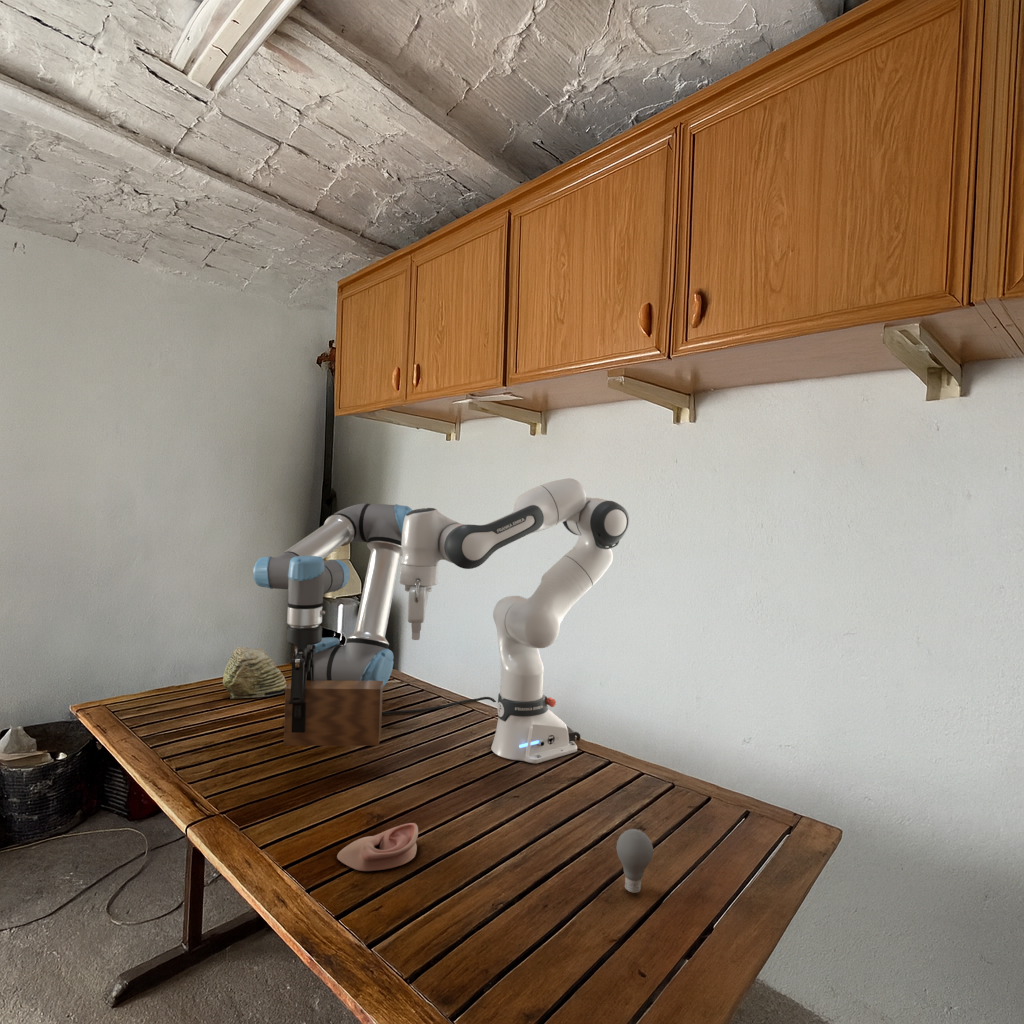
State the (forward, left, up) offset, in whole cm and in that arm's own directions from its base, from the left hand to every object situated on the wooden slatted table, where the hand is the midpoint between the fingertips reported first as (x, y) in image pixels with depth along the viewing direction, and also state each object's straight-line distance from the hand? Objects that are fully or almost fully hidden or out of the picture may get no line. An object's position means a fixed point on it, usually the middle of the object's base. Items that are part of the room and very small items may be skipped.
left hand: (301, 725), depth 144 cm
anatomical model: (+9, +38, -11) cm, 41 cm away
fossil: (-22, -59, -11) cm, 64 cm away
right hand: (-20, +15, +20) cm, 32 cm away
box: (-5, +5, -3) cm, 8 cm away
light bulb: (-13, +77, -11) cm, 79 cm away
